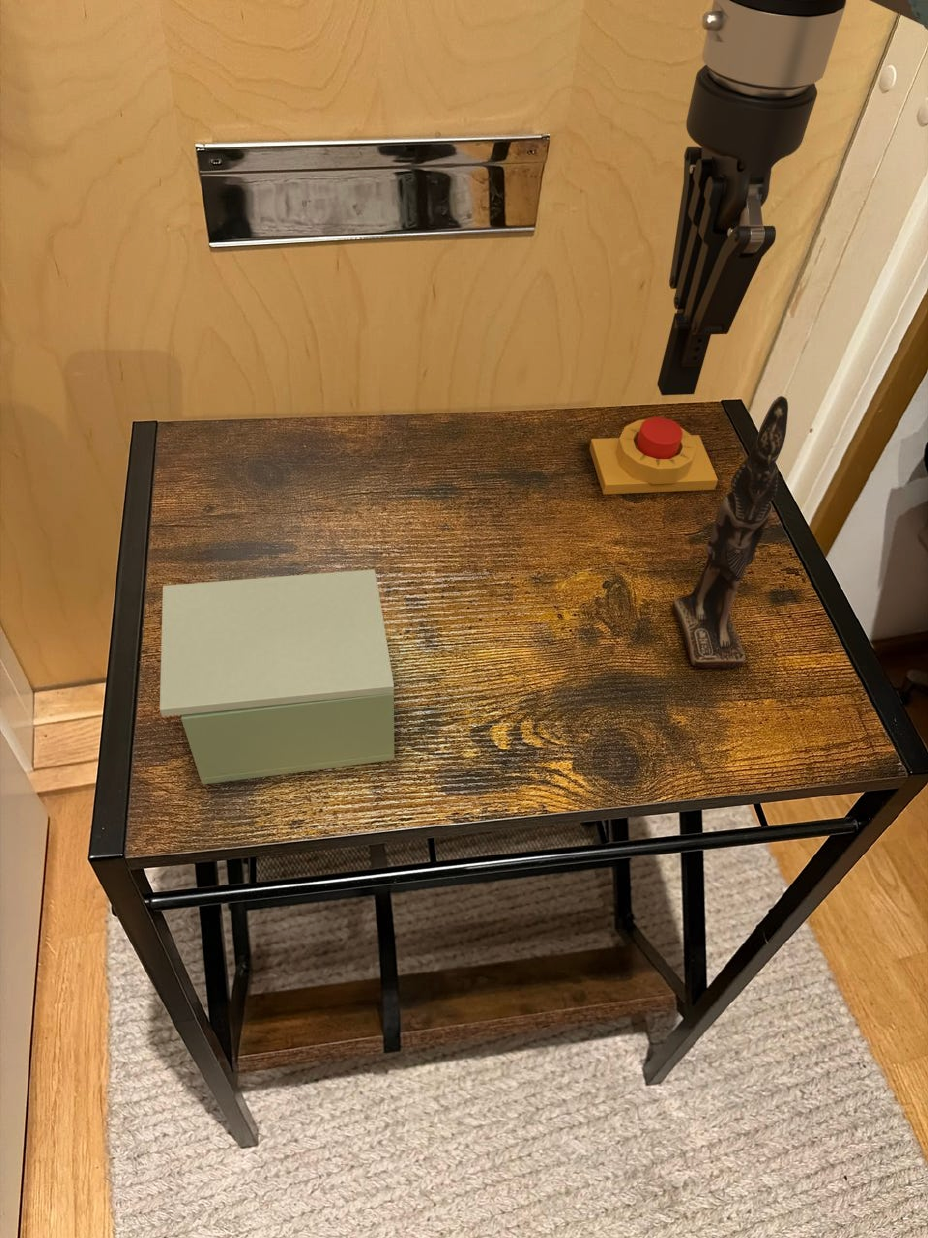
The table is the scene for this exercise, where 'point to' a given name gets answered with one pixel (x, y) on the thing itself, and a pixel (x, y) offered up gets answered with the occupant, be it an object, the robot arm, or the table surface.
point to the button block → (650, 465)
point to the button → (659, 438)
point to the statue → (733, 550)
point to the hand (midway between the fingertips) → (675, 388)
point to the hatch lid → (272, 642)
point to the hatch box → (291, 737)
